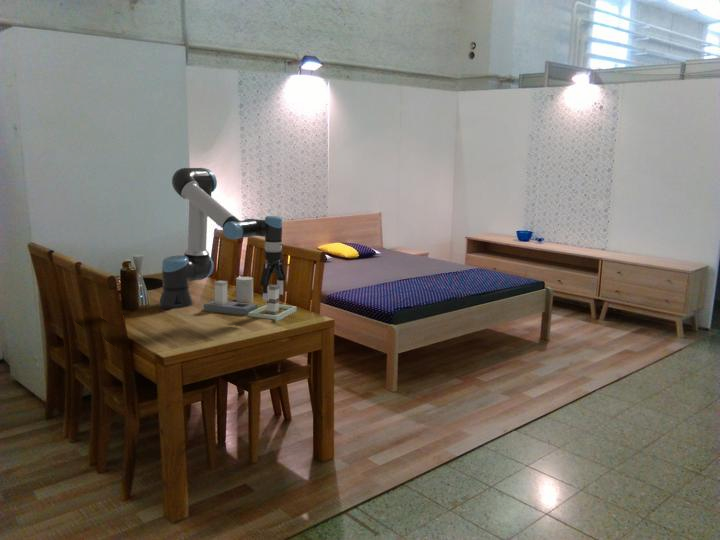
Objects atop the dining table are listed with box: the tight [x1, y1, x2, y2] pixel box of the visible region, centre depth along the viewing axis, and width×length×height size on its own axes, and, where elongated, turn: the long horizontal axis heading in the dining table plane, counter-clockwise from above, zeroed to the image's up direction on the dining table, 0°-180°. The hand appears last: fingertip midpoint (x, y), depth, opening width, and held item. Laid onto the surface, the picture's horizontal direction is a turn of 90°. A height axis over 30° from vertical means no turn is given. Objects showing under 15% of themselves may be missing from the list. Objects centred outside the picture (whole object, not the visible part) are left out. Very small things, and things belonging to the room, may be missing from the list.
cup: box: [235, 276, 254, 303], centre depth 298 cm, size 8×8×12 cm
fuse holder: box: [203, 299, 258, 317], centre depth 278 cm, size 22×10×4 cm, turn 70°
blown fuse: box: [266, 284, 280, 315], centre depth 275 cm, size 4×4×13 cm
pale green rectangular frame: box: [247, 304, 297, 323], centre depth 276 cm, size 14×20×2 cm
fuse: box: [214, 280, 229, 305], centre depth 279 cm, size 4×4×13 cm
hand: (273, 297), depth 275 cm, fingers open, 13 cm apart
